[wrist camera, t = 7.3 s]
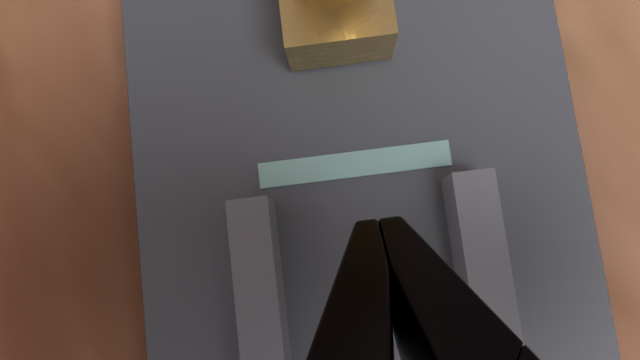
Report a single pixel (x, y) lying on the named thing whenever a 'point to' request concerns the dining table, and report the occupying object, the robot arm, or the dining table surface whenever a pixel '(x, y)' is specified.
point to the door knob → (337, 32)
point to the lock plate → (355, 173)
